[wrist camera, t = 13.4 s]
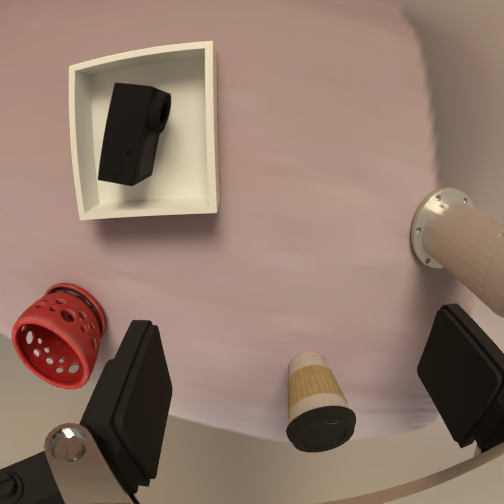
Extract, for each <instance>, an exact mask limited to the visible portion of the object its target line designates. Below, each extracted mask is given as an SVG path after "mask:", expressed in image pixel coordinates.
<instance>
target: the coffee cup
mask: <svg viewBox="0 0 504 504" xmlns="http://www.w3.org/2000/svg"><path fill="white" fill-rule="evenodd" d="M288 418H289V425H288V427H287V430H286V433H287V436H288V438H289V440H290V441H291V442H292V443H293V445H294V446H295V448H297V449H298V450H300V451H304V452H323V451H327V450H331V449H333V448H336V447H338V446H340V445H342V444H344V443H345V442H347V441H348V440H349V439H350V438H351V436H352V435H353V433H354V427H355V424H356V416H355V413H354V412H353V411H352V410H351V409H349V407H348V405H347V401H346V399H345V397H344V395H343V393H342V391H341V389H340V387H339V385H338V383H337V381H336V379H335V377H334V375H333V373H332V372H331V370H330V369H329V368H328V366H327V364H326V362H325V360H324V358H323V356H321V355H320V354H318V353H315V352H306V353H302V354H300V355H298V356H296V357H295V358H293V359H292V361H291V362H290V364H289V381H288Z"/></svg>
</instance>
